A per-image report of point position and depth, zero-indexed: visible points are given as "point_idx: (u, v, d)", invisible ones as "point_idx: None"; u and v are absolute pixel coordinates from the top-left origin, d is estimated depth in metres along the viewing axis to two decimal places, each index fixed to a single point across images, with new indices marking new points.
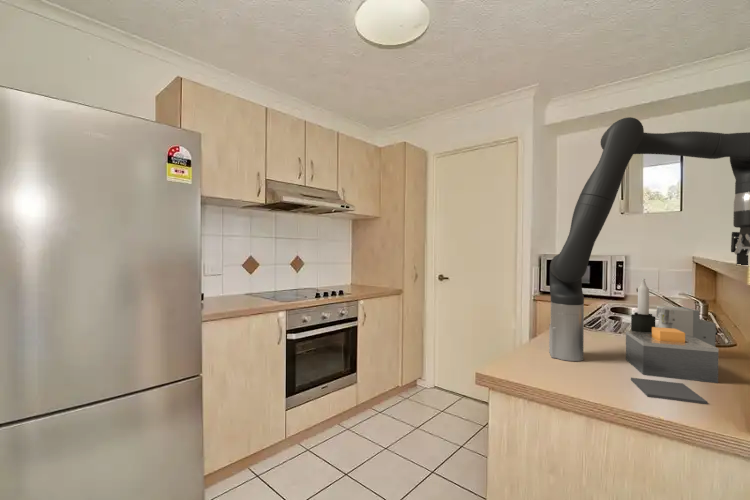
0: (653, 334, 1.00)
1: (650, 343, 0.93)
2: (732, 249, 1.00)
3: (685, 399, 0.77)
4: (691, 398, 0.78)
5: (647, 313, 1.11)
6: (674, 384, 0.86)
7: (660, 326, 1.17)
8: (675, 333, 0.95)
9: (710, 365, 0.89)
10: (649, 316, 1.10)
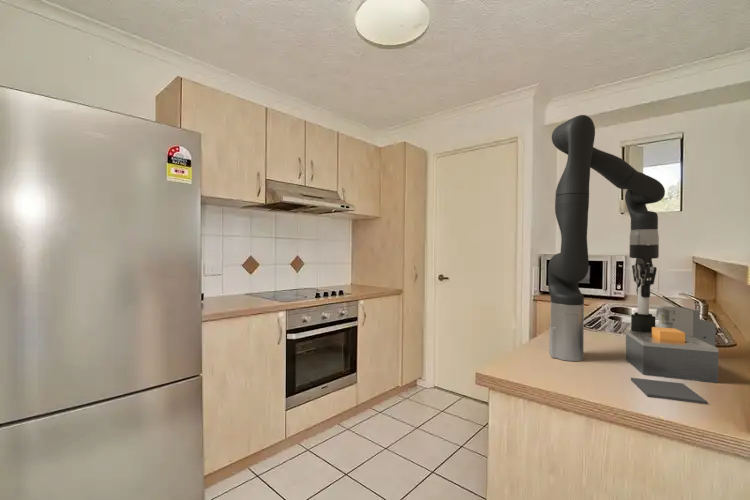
0: (653, 334, 1.00)
1: (650, 343, 0.93)
2: (634, 279, 1.16)
3: (685, 399, 0.77)
4: (691, 398, 0.78)
5: (647, 313, 1.11)
6: (674, 384, 0.86)
7: (660, 326, 1.17)
8: (675, 333, 0.95)
9: (710, 365, 0.89)
10: (649, 316, 1.10)
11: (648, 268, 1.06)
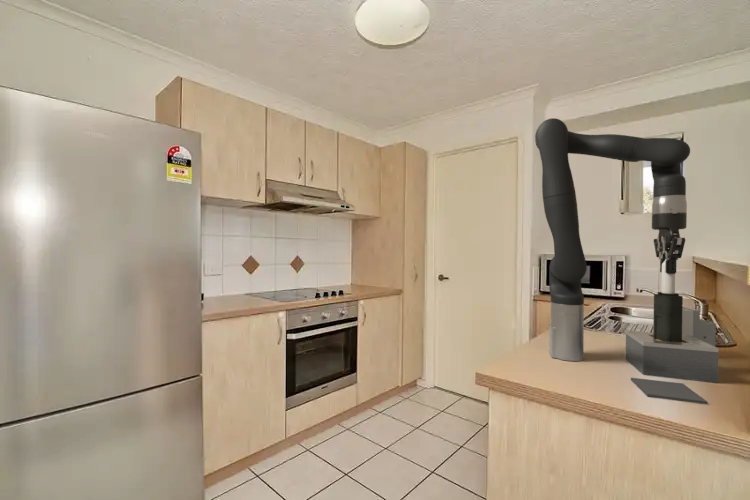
0: None
1: (650, 343, 0.93)
2: (657, 254, 1.01)
3: (685, 399, 0.77)
4: (691, 398, 0.78)
5: (673, 292, 0.96)
6: (674, 384, 0.86)
7: None
8: None
9: (710, 365, 0.89)
10: (675, 295, 0.95)
11: (675, 239, 0.92)
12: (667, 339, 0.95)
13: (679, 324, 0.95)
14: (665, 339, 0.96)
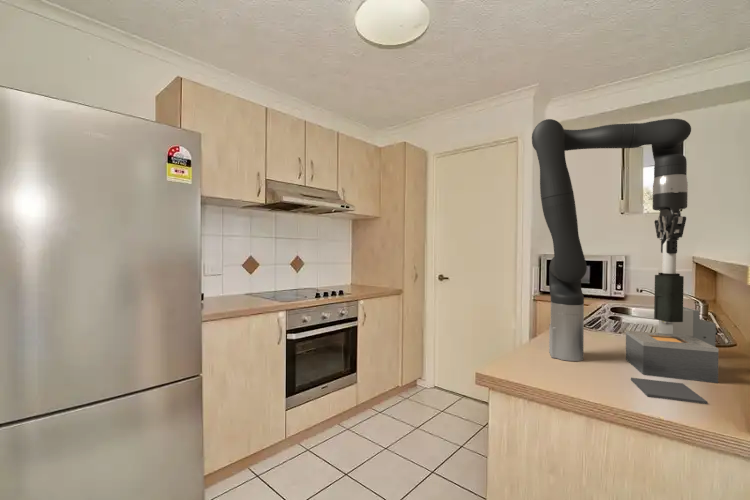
0: None
1: (650, 343, 0.93)
2: (658, 235, 1.01)
3: (685, 399, 0.77)
4: (691, 398, 0.78)
5: (674, 272, 0.96)
6: (674, 384, 0.86)
7: (660, 326, 1.17)
8: None
9: (710, 365, 0.89)
10: (676, 275, 0.95)
11: (676, 218, 0.92)
12: (668, 319, 0.95)
13: (680, 304, 0.95)
14: (666, 319, 0.95)
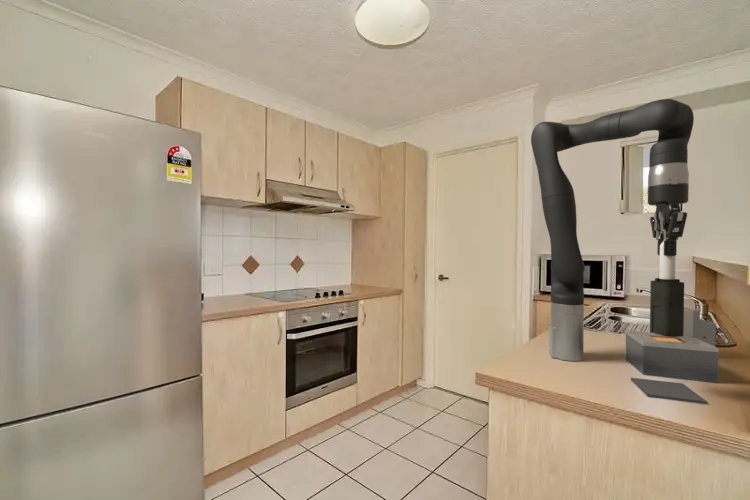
0: None
1: (650, 343, 0.93)
2: (654, 234, 0.87)
3: (685, 399, 0.77)
4: (691, 398, 0.78)
5: (673, 278, 0.82)
6: (674, 384, 0.86)
7: None
8: None
9: (710, 365, 0.89)
10: (676, 281, 0.81)
11: (675, 214, 0.77)
12: (666, 333, 0.81)
13: (680, 315, 0.81)
14: (664, 333, 0.81)
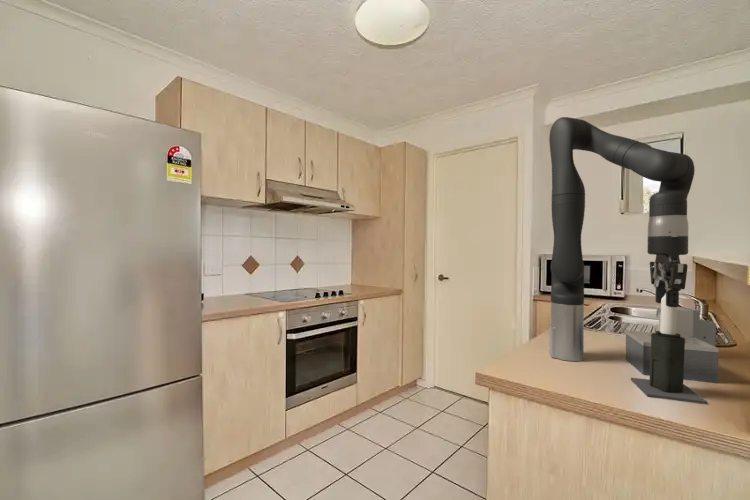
0: None
1: (650, 343, 0.93)
2: (652, 281, 0.88)
3: (685, 399, 0.77)
4: (691, 398, 0.78)
5: (674, 333, 0.82)
6: None
7: None
8: None
9: (710, 365, 0.89)
10: (677, 337, 0.81)
11: (675, 265, 0.77)
12: (666, 388, 0.81)
13: (680, 371, 0.81)
14: (663, 388, 0.81)
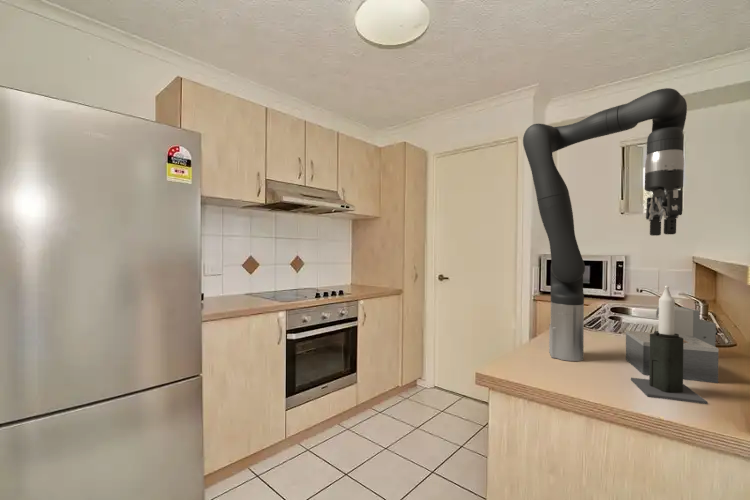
0: None
1: None
2: (647, 216, 0.93)
3: (685, 399, 0.77)
4: (691, 398, 0.78)
5: (672, 333, 0.82)
6: None
7: None
8: None
9: (710, 365, 0.89)
10: (675, 337, 0.81)
11: (670, 191, 0.81)
12: (665, 389, 0.81)
13: (679, 371, 0.81)
14: (663, 389, 0.81)
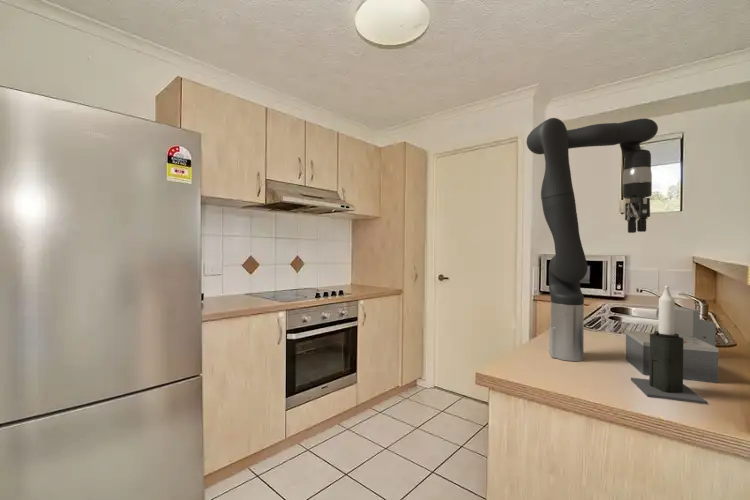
0: None
1: None
2: (625, 217, 1.19)
3: (685, 399, 0.77)
4: (691, 398, 0.78)
5: (672, 333, 0.82)
6: None
7: None
8: None
9: (710, 365, 0.89)
10: (675, 337, 0.81)
11: (641, 198, 1.07)
12: (665, 389, 0.81)
13: (679, 371, 0.81)
14: (663, 389, 0.81)
